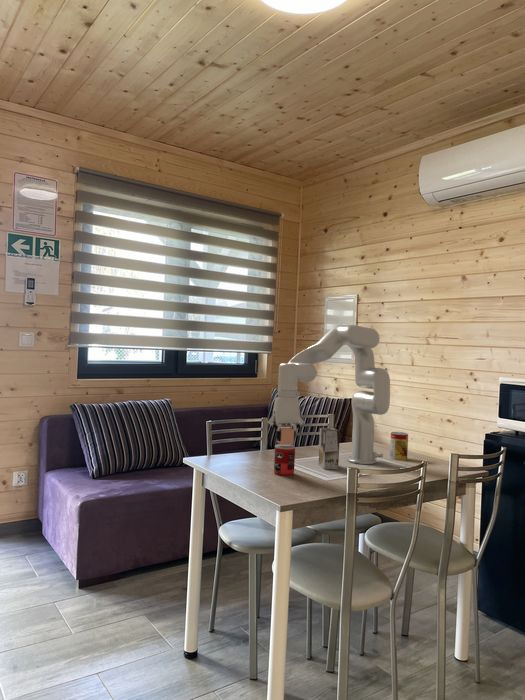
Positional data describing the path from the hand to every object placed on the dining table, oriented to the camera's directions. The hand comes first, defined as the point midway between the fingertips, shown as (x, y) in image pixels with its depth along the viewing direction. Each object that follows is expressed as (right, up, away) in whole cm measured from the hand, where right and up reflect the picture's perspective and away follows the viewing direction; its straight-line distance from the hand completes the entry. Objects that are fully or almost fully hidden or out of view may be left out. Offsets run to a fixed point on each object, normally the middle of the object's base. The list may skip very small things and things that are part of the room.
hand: (285, 440), depth 206 cm
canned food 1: (-1, -13, 0) cm, 13 cm away
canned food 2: (+55, -16, +39) cm, 69 cm away
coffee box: (+19, -14, +15) cm, 28 cm away
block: (0, -1, 0) cm, 1 cm away
